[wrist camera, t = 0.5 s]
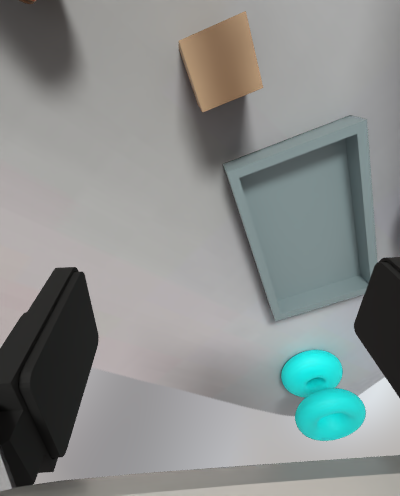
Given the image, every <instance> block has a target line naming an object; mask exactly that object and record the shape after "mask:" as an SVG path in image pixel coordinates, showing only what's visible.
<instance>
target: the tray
mask: <svg viewBox="0 0 400 496" xmlns="http://www.w3.org/2000/svg"><path fill="white" fill-rule="evenodd" d="M223 166H224V169H225V172H226V175H227V178H228V181H229V184H230V187H231V191H232V194H233V197H234V200H235V203H236V206H237V209H238V212H239V215H240V218H241V221H242V224H243V227H244V230H245V233H246V236H247V239H248V242H249V245H250V248H251V251H252V254H253V257H254V260H255V263H256V266H257V269H258V272H259V276H260V279H261V282H262V285H263V288H264V291H265V294H266V297H267V300H268V303H269V306H270V308H271V311H272V314H273V316H274V319H275V321H279V320H282V319H285V318H288V317H292V316H295V315H298V314H301V313H305V312H308V311H311V310H314V309H318V308H321V307H324V306H327V305H331V304H334V303H337V302H340V301H344V300H347V299H350V298H353V297H357V296H360V295H363V294H365V292H366V289H367V286H368V283H369V280H370V277H371V274H372V272H373V269H374V266H375V264H376V263H377V251H376V237H375V224H374V210H373V196H372V183H371V169H370V156H369V142H368V129H367V119H363V118H359V117H355V116H351V115H350V116H347V117H344V118H342V119H339V120H337V121H334V122H331V123H329V124H326V125H324V126H321V127H318V128H316V129H313V130H311V131H308V132H305V133H303V134H300V135H297V136H295V137H292V138H290V139H287V140H284V141H282V142H279V143H277V144H274V145H271V146H269V147H266V148H264V149H261V150H258V151H256V152H253V153H251V154H248V155H245V156H243V157H240V158H238V159H235V160H232V161H230V162H227V163H224V164H223Z"/></svg>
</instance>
